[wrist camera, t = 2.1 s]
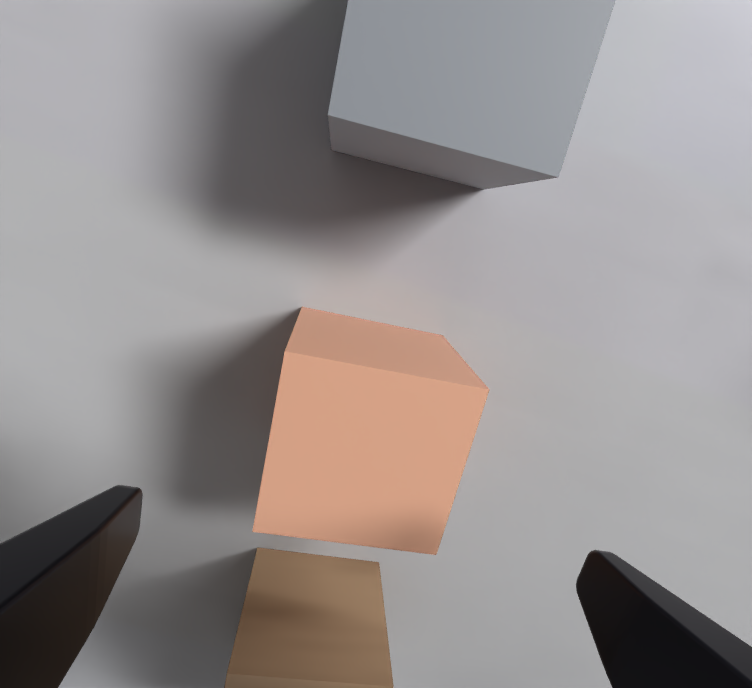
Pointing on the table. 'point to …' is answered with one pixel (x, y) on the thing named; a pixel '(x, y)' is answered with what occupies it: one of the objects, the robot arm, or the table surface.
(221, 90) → the table surface
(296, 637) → the walnut cube
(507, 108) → the grey cube
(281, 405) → the terracotta cube
